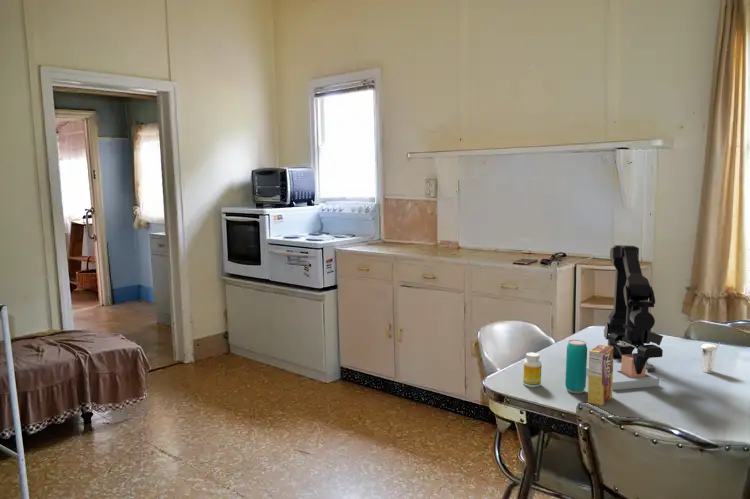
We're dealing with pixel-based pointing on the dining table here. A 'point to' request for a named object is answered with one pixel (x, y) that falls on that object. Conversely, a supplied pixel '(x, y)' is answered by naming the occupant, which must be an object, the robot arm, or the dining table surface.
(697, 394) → the dining table surface
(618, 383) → the outlet plate
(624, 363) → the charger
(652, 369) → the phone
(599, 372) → the candy box
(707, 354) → the milkshake
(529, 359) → the supplement bottle
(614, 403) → the dining table surface
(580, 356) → the beverage can
